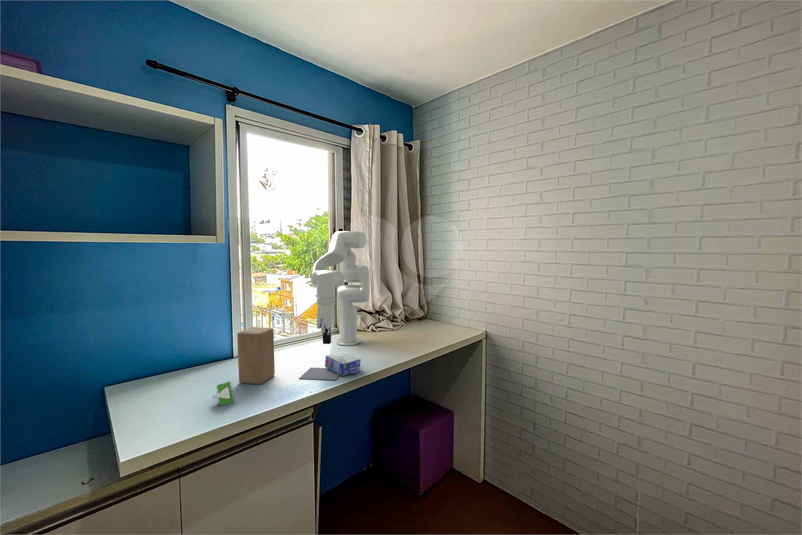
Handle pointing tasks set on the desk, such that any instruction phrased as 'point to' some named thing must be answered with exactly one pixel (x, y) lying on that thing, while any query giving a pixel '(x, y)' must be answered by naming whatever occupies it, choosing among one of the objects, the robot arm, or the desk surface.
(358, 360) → the ink cartridge box
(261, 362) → the wooden block
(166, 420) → the desk surface
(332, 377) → the mat
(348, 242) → the robot arm
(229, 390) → the geometric puzzle
